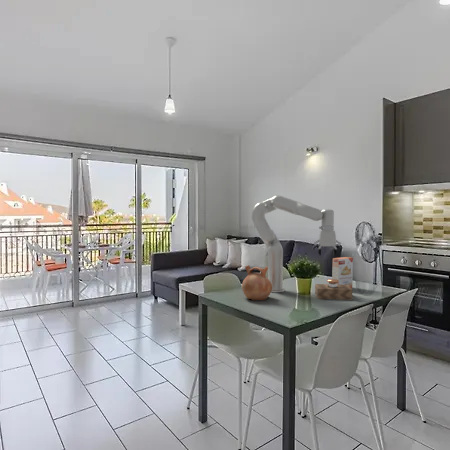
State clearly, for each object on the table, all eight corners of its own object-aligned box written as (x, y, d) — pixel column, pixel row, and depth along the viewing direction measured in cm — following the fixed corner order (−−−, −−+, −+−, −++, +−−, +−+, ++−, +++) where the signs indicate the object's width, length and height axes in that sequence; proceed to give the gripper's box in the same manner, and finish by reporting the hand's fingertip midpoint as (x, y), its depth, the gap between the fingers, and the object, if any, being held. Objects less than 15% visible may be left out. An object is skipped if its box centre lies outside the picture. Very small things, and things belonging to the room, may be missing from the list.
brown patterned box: (317, 298, 212) (317, 288, 211) (315, 293, 225) (315, 284, 225) (352, 299, 209) (352, 289, 209) (347, 294, 223) (347, 284, 222)
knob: (328, 292, 214) (328, 280, 214) (326, 289, 221) (326, 278, 221) (339, 292, 213) (339, 281, 213) (337, 289, 220) (337, 279, 220)
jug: (277, 297, 216) (277, 264, 215) (263, 303, 201) (263, 268, 200) (251, 293, 226) (251, 262, 226) (236, 299, 211) (236, 266, 211)
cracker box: (338, 290, 233) (338, 259, 233) (331, 288, 239) (331, 258, 238) (353, 288, 240) (353, 257, 240) (346, 286, 246) (346, 256, 245)
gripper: (314, 228, 225) (314, 255, 226) (342, 229, 223) (342, 256, 223) (313, 228, 233) (312, 254, 233) (340, 228, 230) (340, 254, 231)
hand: (327, 255), depth 228 cm, fingers open, 8 cm apart
